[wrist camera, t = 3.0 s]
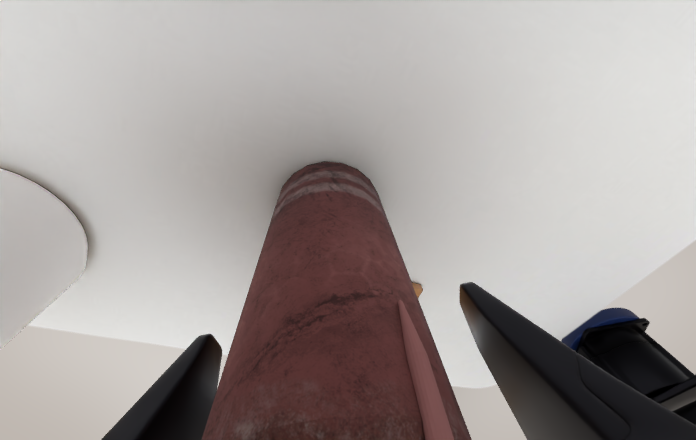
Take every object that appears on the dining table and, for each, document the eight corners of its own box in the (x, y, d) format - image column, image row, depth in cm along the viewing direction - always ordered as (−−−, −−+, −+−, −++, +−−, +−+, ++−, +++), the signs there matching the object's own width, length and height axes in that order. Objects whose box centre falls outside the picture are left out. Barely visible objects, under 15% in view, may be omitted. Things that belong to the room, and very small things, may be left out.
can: (397, 178, 17) (590, 505, 5) (351, 256, 19) (396, 587, 7) (301, 136, 15) (207, 478, 3) (266, 228, 18) (143, 596, 6)
